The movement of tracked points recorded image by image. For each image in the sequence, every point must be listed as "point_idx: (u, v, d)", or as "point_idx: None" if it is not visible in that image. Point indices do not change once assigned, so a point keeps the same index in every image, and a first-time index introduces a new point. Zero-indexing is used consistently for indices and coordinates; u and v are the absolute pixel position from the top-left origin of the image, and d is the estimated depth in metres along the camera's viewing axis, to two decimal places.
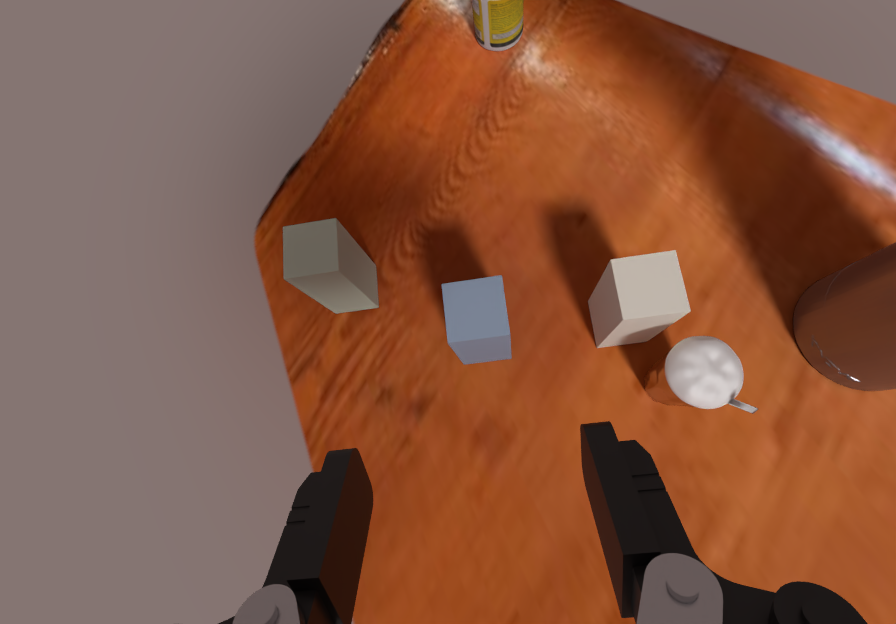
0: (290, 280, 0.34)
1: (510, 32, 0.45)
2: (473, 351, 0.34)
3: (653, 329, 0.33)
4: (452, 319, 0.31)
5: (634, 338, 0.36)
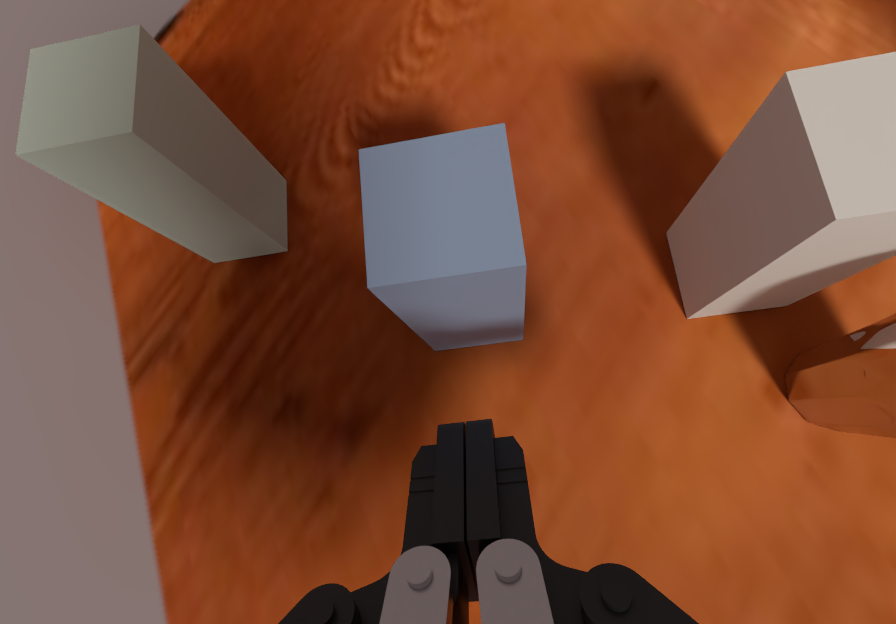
0: (38, 163, 0.15)
1: None
2: (443, 319, 0.16)
3: (846, 267, 0.15)
4: (381, 230, 0.12)
5: (776, 295, 0.18)
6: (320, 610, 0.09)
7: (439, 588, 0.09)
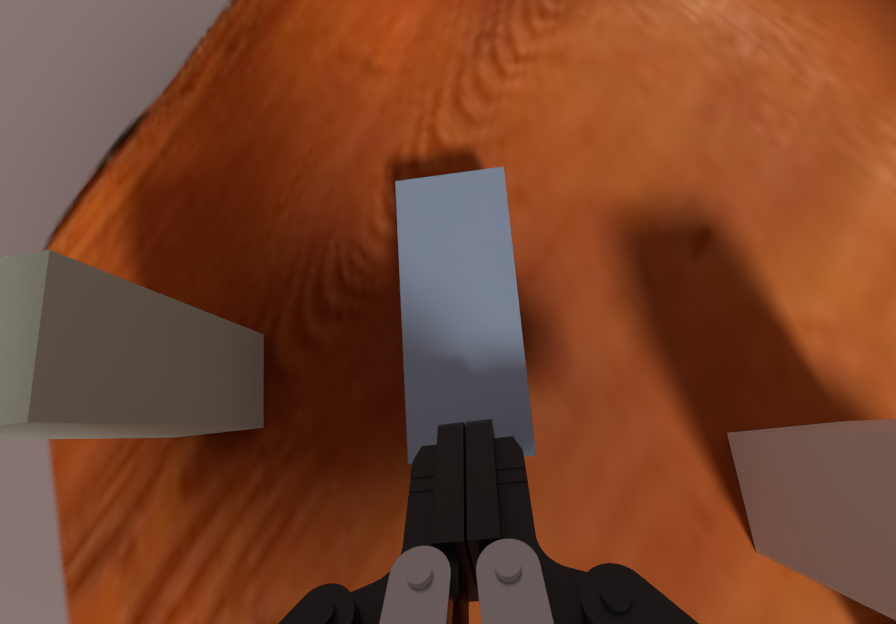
0: None
1: None
2: (436, 288, 0.16)
3: None
4: None
5: None
6: (320, 610, 0.09)
7: (439, 588, 0.09)
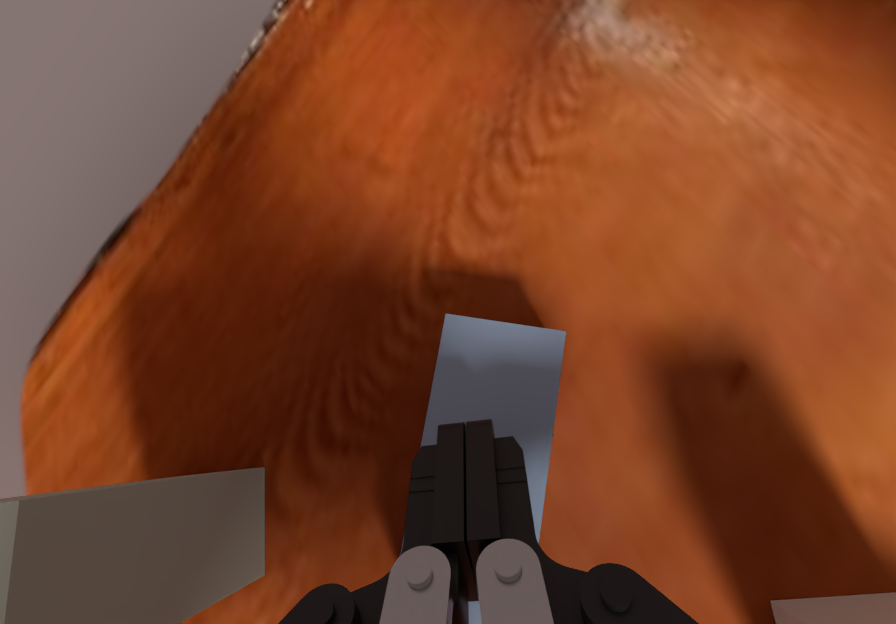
0: None
1: None
2: None
3: None
4: None
5: None
6: (320, 610, 0.09)
7: (439, 588, 0.09)
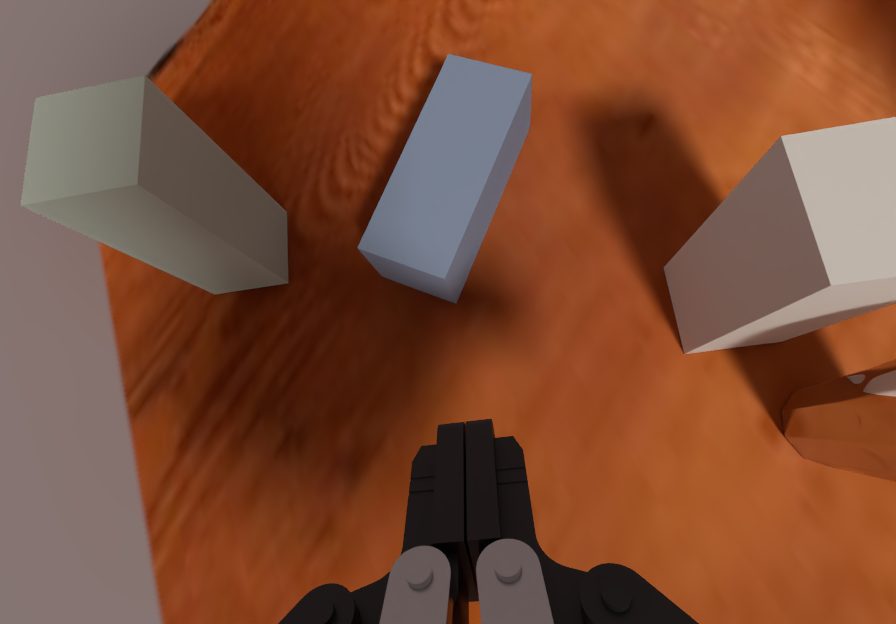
0: (43, 212, 0.15)
1: None
2: (437, 141, 0.21)
3: (840, 315, 0.15)
4: None
5: (772, 335, 0.18)
6: (320, 610, 0.09)
7: (439, 588, 0.09)
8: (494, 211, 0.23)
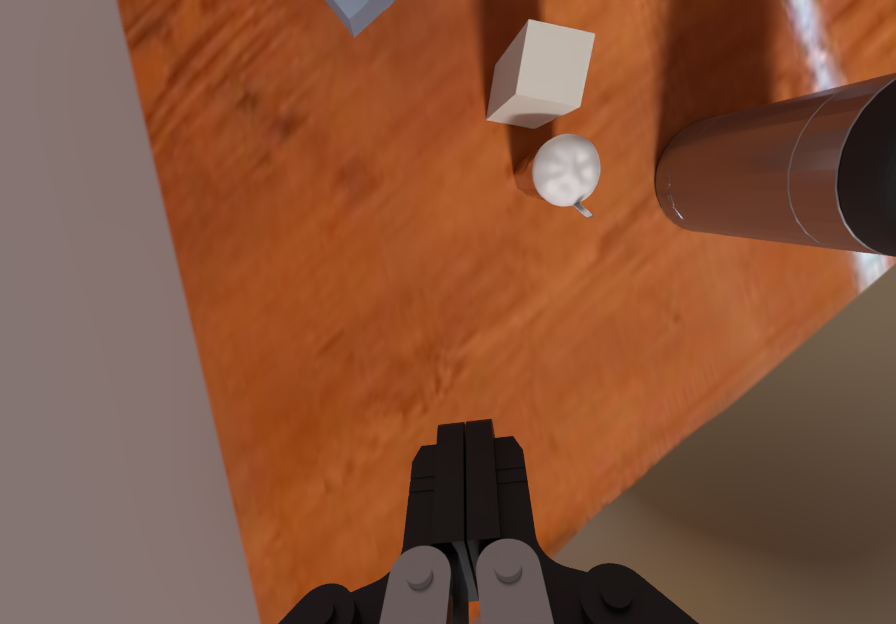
0: None
1: None
2: None
3: (542, 116, 0.33)
4: None
5: (523, 121, 0.36)
6: (320, 610, 0.09)
7: (439, 588, 0.09)
8: None
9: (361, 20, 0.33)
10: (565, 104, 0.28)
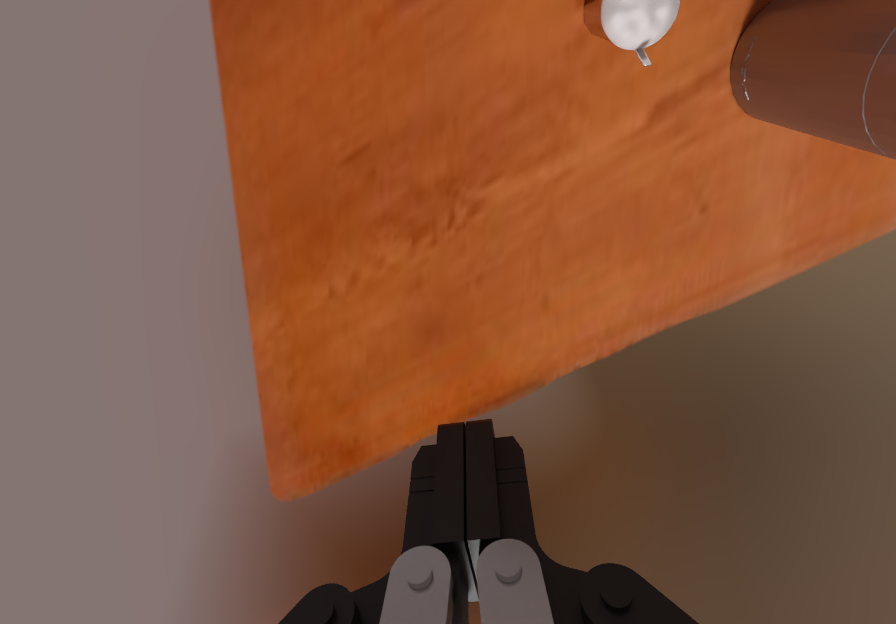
0: None
1: None
2: None
3: None
4: None
5: None
6: (320, 610, 0.09)
7: (439, 588, 0.09)
8: None
9: None
10: None
